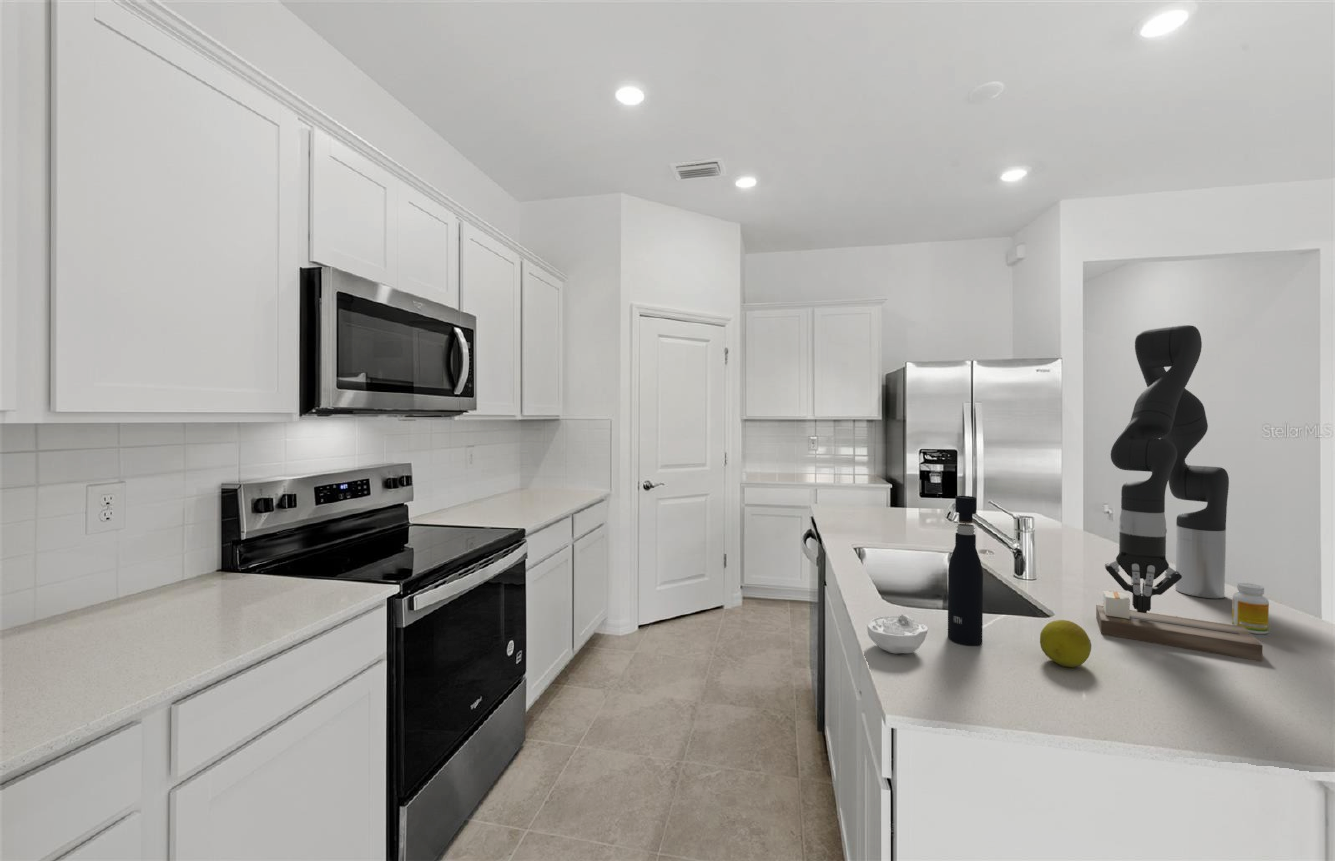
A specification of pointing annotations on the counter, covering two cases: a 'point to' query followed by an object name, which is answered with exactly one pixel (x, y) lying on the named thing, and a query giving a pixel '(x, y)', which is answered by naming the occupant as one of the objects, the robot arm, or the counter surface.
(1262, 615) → the supplement bottle
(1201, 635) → the brown flat piece
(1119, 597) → the block
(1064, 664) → the lemon
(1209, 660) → the counter surface
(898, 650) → the cell model
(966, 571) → the black water bottle
